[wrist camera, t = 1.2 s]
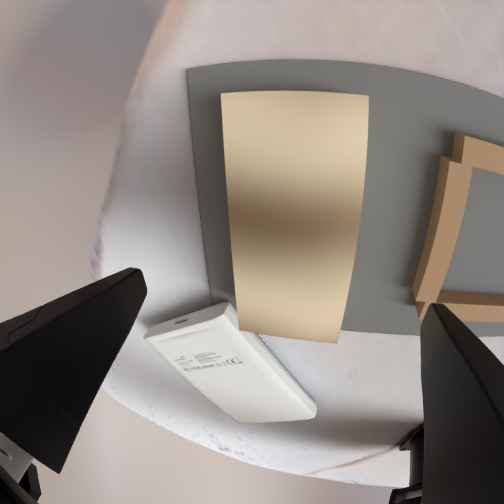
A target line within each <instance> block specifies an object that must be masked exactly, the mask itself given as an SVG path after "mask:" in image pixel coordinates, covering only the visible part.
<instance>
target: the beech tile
mask: <svg viewBox="0 0 504 504" xmlns="http://www.w3.org/2000/svg"><path fill="white" fill-rule="evenodd" d="M221 106H222V123H223V140H224V155H225V170H226V184H227V198H228V211H229V224H230V237H231V249H232V261H233V272H234V283H235V295H236V305H237V316H238V326H239V331H245V332H251V333H258V334H264V335H271V336H278V337H285V338H292V339H300V340H308V341H317V342H326V343H336V344H337V342H338V338H339V333H340V329H341V325H342V320H343V316H344V311H345V307H346V302H347V297H348V292H349V287H350V282H351V276H352V271H353V265H354V259H355V253H356V246H357V240H358V233H359V226H360V218H361V210H362V201H363V192H364V182H365V171H366V158H367V141H368V117H369V96H366V95H357V94H346V93H334V92H316V91H251V92H233V93H221Z"/></svg>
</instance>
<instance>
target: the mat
mask: <svg viewBox="0 0 504 504" xmlns="http://www.w3.org/2000/svg"><path fill="white" fill-rule="evenodd" d="M187 72H188V89H189V104H190V118H191V131H192V142H193V153H194V164H195V174H196V183H197V192H198V201H199V210H200V218H201V226H202V234H203V242H204V249H205V257H206V264H207V271H208V277H209V284H210V291H211V297H212V304H213V306H214V305H216V304H219V303H222V302H230V303H231V304H232V306H233V307H234V308H235V309H236V311H237V305H236V295H235V283H234V272H233V261H232V249H231V237H230V224H229V211H228V198H227V184H226V170H225V155H224V140H223V123H222V106H221V93H233V92H251V91H316V92H334V93H346V94H357V95H366V96H369V117H368V141H367V158H366V171H365V182H364V192H363V201H362V210H361V218H360V226H359V233H358V240H357V246H356V253H355V259H354V265H353V271H352V276H351V282H350V287H349V292H348V297H347V302H346V307H345V311H344V316H343V320H342V325H341V329H340V330H346V331H357V332H369V333H383V334H398V335H418V336H420V327H421V323H422V321H423V319H424V316H425V314H426V311H427V309H428V307H429V305H430V304H431V303H442V304H444V305H445V306H446V307H447V308H448V309H449V310H451V311H452V312H453V313H454V314H455V315H456V316H457V317H458V318H459V319H460V320H461V321H462V322H463V323H464V324H465V325H466V326H467V327H468V328H469V329H470V330H471V331H472V332H473V333H474V334H475V335H476V336H477V337H494V336H504V99H502V98H500V97H497V96H495V95H492V94H490V93H487V92H484V91H481V90H478V89H476V88H473V87H470V86H466V85H463V84H460V83H457V82H453V81H450V80H446V79H442V78H439V77H435V76H431V75H426V74H422V73H417V72H413V71H408V70H402V69H397V68H391V67H385V66H378V65H370V64H362V63H353V62H341V61H325V60H262V61H247V62H235V63H225V64H217V65H209V66H202V67H195V68H189V69H187Z"/></svg>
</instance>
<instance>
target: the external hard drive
mask: <svg viewBox="0 0 504 504" xmlns="http://www.w3.org/2000/svg"><path fill="white" fill-rule="evenodd" d="M143 338H144V339H145V340H146V341H147V342H148V343H149V344H150V345H151V346H152V347H153V348H154V349H155V350H156V351H157V352H158V353H159V354H160V355H161V356H162V357H163V358H164V359H165V360H166V361H167V362H168V363H169V364H170V365H171V366H172V367H173V368H174V369H175V370H176V371H177V372H178V373H180V374H181V375H182V376H183V377H184V378H185V379H186V380H187V381H188V382H189V383H190V384H192V385H193V386H194V387H195V388H196V389H197V390H198V391H200V392H201V393H202V394H203V395H204V396H205V397H207V398H208V399H209V400H210V401H211V402H213V403H214V404H215V405H216V406H217V407H219V408H220V409H221V410H222V411H224V412H225V413H226V414H227V415H229V416H230V417H231V418H232V419H234V420H235V421H236V422H238V423H265V422H284V421H295V420H307V419H312V418H314V417H315V416H316V413H317V404H316V403H315V402H314V401H313V399H312V398H311V397H310V396H309V395H308V394H307V393H306V391H305V390H304V389H303V388H302V387H301V386H300V385H299V384H298V383H297V382H296V380H295V379H294V378H293V377H292V376H291V375H290V373H289V372H288V371H287V370H286V369H285V368H284V367H283V366H282V364H281V363H280V362H279V361H278V359H277V358H276V357H275V356H274V355H273V354H272V352H271V351H270V350H269V349H268V348H267V347H266V345H265V344H264V343H263V342H262V341H261V340H260V338H259V337H258V336H257V335H256V334H255V333H251V332H245V331H239V326H238V316H237V311H236V309H235V308H234V307H233V306H232V304H231V303H230V302H222V303H219V304H216V305H214V306H211V307H207V308H205V309H201V310H198V311H196V312H193V313H190V314H187V315H183V316H180V317H177V318H174V319H171V320H168V321H165V322H162V323H159V324H156V325H154V326H152V327H150V328H149V330H148V331H147V332H146V334H145V335H144V337H143Z"/></svg>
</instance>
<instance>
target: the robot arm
mask: <svg viewBox="0 0 504 504" xmlns="http://www.w3.org/2000/svg"><path fill="white" fill-rule="evenodd" d="M146 295H147V287H146V283H145V280H144V276H143V273H142V271H141V270H140V269H138V268H132V267H130V268H127V269H124V270H122V271H120V272H117V273H115V274H113V275H110V276H108V277H105V278H103V279H101V280H98V281H96V282H94V283H91V284H89V285H87V286H85V287H83V288H80V289H78V290H75V291H73V292H71V293H69V294H66V295H64V296H62V297H60V298H57V299H55V300H53V301H51V302H48V303H46V304H44V305H43V306H40V307H37V308H35V309H33V310H31V311H28V312H26V313H24V314H22V315H19V316H17V317H14V318H12V319H10V320H7V321H4V322H2V323H0V504H39V503H37V501H38V499H39V497H40V496H41V490H40V485H39V480H38V474H37V469H36V466H35V465H34V464H32V461H33V459H34V458H35V459H37V460H38V461H39V462H41V463H42V464H44V465H45V466H47V467H48V468H50V469H52V470H53V471H55V472H56V473H58V474H60V472H61V470H62V468H63V466H64V463H65V461H66V459H67V456H68V454H69V452H70V450H71V447H72V445H73V443H74V441H75V438H76V436H77V434H78V432H79V429H80V427H81V425H82V423H83V421H84V419H85V417H86V415H87V413H88V410H89V408H90V406H91V404H92V402H93V400H94V398H95V396H96V394H97V392H98V390H99V388H100V386H101V385H102V383H103V381H104V379H105V377H106V375H107V373H108V371H109V369H110V367H111V366H112V364H113V362H114V360H115V358H116V356H117V354H118V353H119V351H120V349H121V347H122V345H123V344H124V342H125V340H126V338H127V336H128V335H129V333H130V331H131V329H132V326H133V324H134V322H135V320H136V317H137V315H138V313H139V311H140V309H141V306H142V304H143V302H144V300H145V298H146ZM420 341H421V382H422V394H423V411H424V424H423V425H420V426H419V427H418V428H417V429H416V430H415V431H414V432H413V433H412V435H411V436H410V437H409V438H408V439H407V440H406V441H405V442H404V443H403V444H402V445H401V446H400V447H399V450H400V451H406V450H410V480H409V487H406V488H401V489H393V490H392V493H391V496H390V500H389V504H504V365H503V364H502V363H501V362H500V361H499V359H498V358H497V357H496V356H495V355H494V354H493V353H492V352H491V351H490V350H489V349H488V348H487V347H486V345H485V344H484V343H483V342H482V341H481V340H480V339H479V338H478V337H477V336H476V335H475V334H474V333H473V332H472V331H471V330H470V329H469V328H468V327H467V326H466V325H465V324H464V323H463V322H462V321H461V320H460V319H459V318H458V317H457V316H456V315H455V314H454V313H453V312H452V311H451V310H449V309H448V308H447V307H446V306H445V305H444V304H442V303H431V304H430V305H429V307H428V309H427V311H426V314H425V316H424V319H423V321H422V323H421V327H420ZM421 495H422V496H421ZM417 496H418V497H417ZM412 497H414V498H412ZM407 498H409V499H407Z"/></svg>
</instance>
